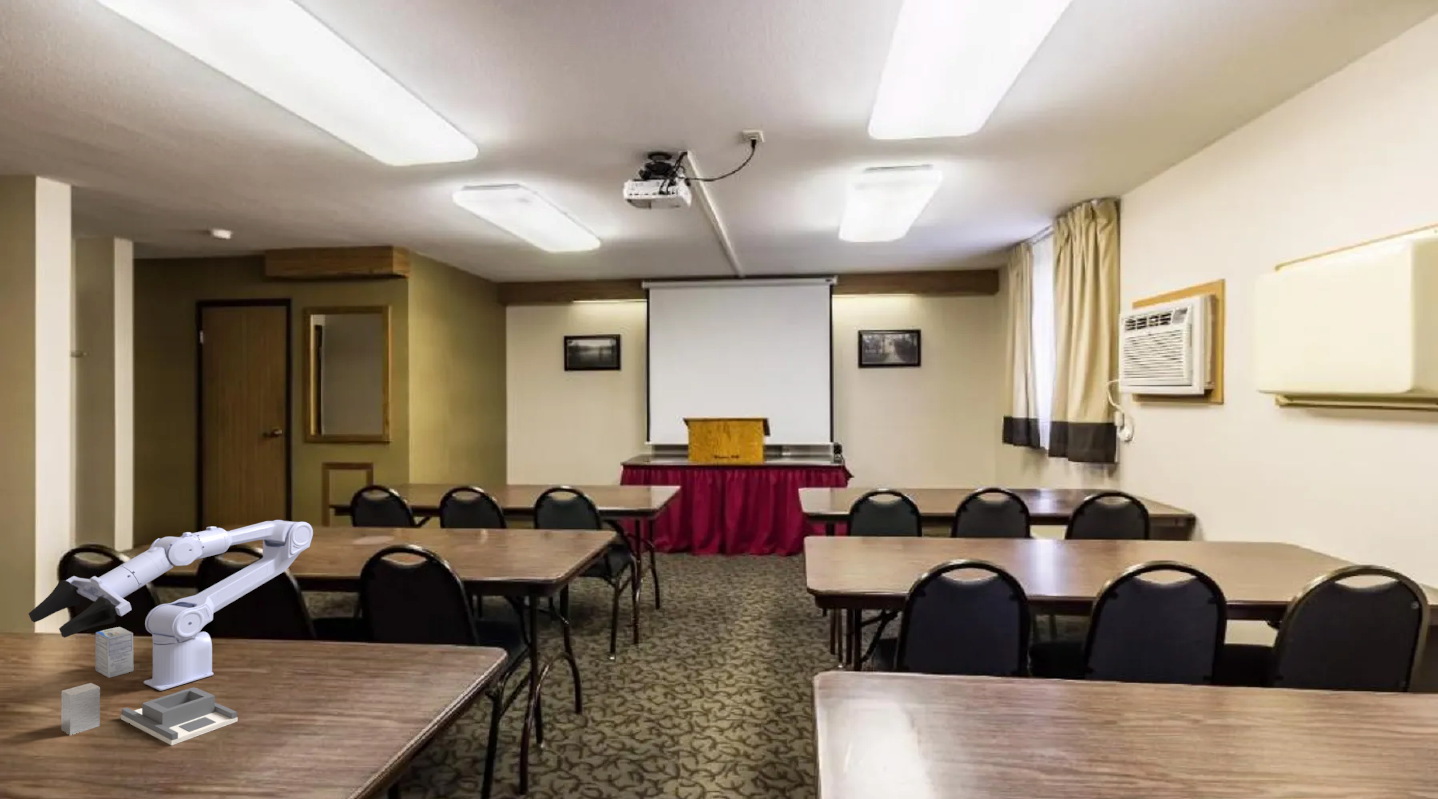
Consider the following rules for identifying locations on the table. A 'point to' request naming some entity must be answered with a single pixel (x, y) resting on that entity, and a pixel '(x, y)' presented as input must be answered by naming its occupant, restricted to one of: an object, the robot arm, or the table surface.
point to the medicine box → (114, 652)
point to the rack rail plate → (180, 716)
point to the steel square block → (80, 708)
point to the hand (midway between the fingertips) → (46, 625)
